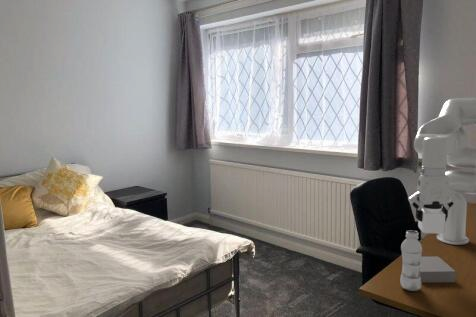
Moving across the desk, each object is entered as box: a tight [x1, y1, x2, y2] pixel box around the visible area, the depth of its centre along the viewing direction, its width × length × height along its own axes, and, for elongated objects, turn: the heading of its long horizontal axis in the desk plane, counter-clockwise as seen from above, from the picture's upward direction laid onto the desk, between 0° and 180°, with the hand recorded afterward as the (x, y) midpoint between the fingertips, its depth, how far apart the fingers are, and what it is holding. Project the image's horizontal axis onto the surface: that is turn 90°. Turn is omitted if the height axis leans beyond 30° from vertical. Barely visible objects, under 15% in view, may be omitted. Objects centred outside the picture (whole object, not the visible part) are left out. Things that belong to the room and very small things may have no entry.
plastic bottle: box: [399, 229, 423, 292], centre depth 130 cm, size 6×7×20 cm
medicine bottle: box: [417, 201, 446, 235], centre depth 138 cm, size 7×7×12 cm
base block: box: [420, 255, 457, 283], centre depth 141 cm, size 13×12×4 cm
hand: (431, 219), depth 138 cm, fingers closed on medicine bottle, 7 cm apart
